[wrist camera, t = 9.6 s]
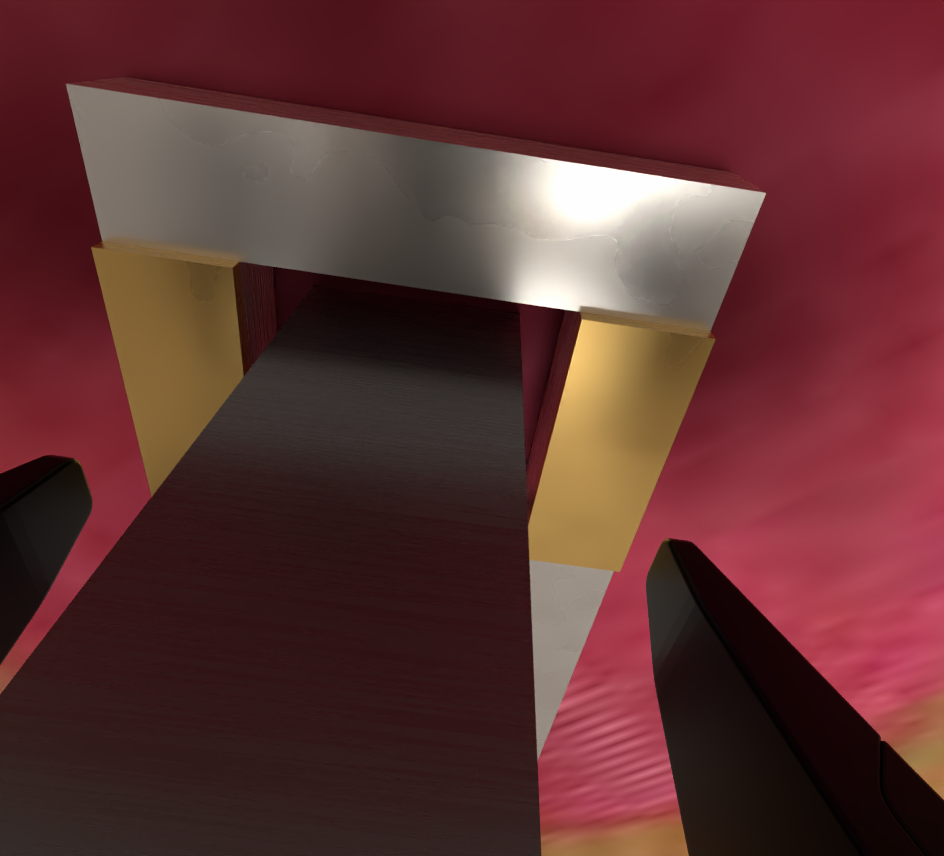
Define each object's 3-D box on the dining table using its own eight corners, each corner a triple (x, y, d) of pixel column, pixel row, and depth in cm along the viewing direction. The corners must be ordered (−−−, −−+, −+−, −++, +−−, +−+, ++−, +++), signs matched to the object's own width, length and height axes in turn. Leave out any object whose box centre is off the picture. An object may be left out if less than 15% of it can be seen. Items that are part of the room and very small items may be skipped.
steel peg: (319, 450, 13) (16, 1117, 5) (313, 284, 11) (-239, 1006, 3) (490, 472, 14) (461, 1161, 5) (519, 313, 11) (551, 1087, 3)
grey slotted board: (258, 822, 25) (243, 872, 24) (124, 77, 9) (52, 85, 8) (486, 849, 25) (484, 899, 24) (733, 171, 10) (774, 197, 8)
